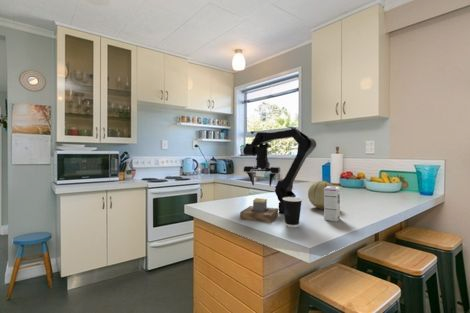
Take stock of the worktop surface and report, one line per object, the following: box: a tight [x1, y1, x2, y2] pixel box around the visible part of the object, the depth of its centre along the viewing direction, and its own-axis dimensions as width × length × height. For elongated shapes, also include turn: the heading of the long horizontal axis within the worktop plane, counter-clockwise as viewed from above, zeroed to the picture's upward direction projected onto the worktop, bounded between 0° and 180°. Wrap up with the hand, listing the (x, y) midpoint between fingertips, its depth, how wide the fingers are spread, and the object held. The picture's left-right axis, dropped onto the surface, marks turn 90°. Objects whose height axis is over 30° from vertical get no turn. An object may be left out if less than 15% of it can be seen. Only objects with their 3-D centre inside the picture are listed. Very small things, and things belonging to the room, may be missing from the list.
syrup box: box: [323, 185, 341, 222], centre depth 113 cm, size 6×6×14 cm
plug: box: [252, 197, 268, 213], centre depth 116 cm, size 5×5×8 cm
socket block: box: [239, 205, 279, 223], centre depth 116 cm, size 14×14×3 cm
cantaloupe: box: [307, 179, 334, 210], centre depth 134 cm, size 15×15×15 cm
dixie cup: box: [283, 197, 303, 228], centre depth 103 cm, size 8×8×11 cm
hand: (261, 185), depth 133 cm, fingers open, 9 cm apart
